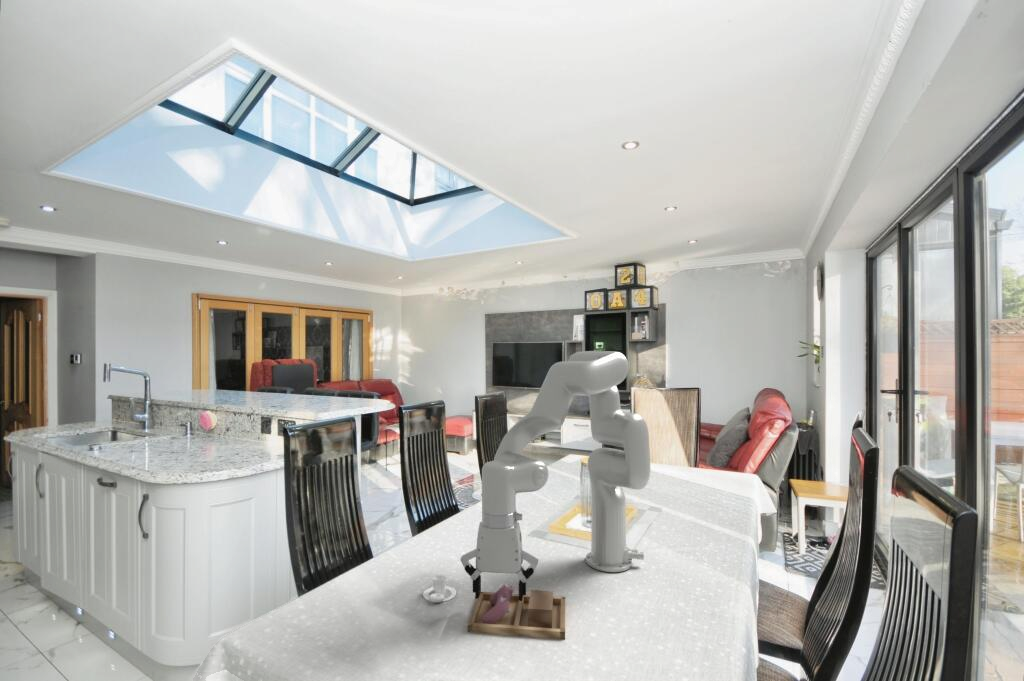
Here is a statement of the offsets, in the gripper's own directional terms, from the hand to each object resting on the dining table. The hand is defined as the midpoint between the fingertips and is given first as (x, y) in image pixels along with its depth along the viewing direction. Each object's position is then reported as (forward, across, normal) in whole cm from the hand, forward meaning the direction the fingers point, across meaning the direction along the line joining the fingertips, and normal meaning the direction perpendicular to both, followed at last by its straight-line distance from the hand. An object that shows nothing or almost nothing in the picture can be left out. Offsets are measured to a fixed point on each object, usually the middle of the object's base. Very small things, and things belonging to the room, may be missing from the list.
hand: (499, 596), depth 103 cm
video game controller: (+4, 0, 0) cm, 4 cm away
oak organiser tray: (+4, -4, 0) cm, 6 cm away
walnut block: (+4, -9, 0) cm, 10 cm away
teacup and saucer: (+5, +18, -6) cm, 20 cm away
